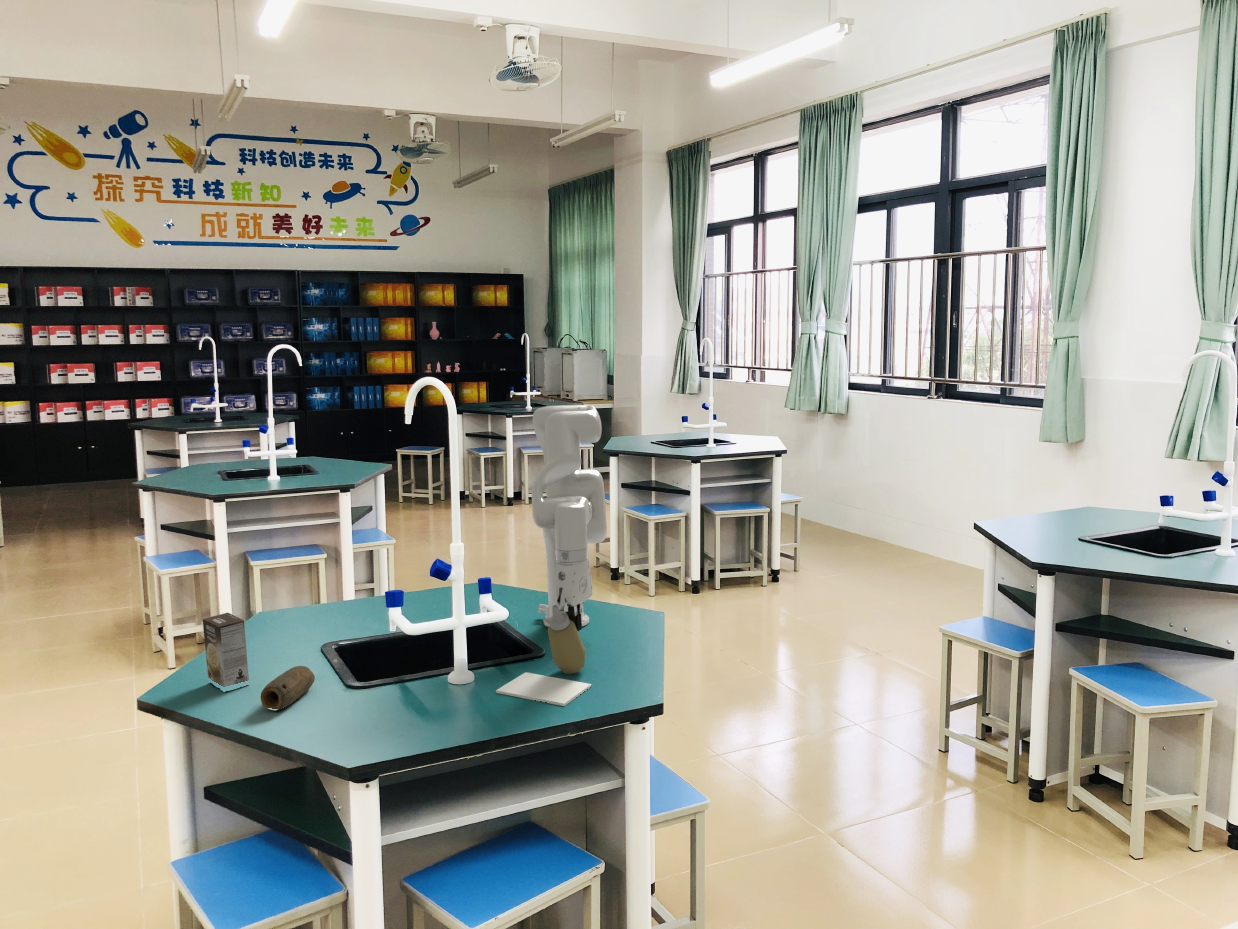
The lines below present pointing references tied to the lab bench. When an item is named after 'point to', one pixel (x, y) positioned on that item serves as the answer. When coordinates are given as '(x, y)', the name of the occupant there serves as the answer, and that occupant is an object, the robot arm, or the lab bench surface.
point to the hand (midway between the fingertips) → (574, 629)
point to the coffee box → (226, 649)
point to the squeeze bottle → (565, 643)
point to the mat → (544, 688)
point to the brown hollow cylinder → (287, 687)
